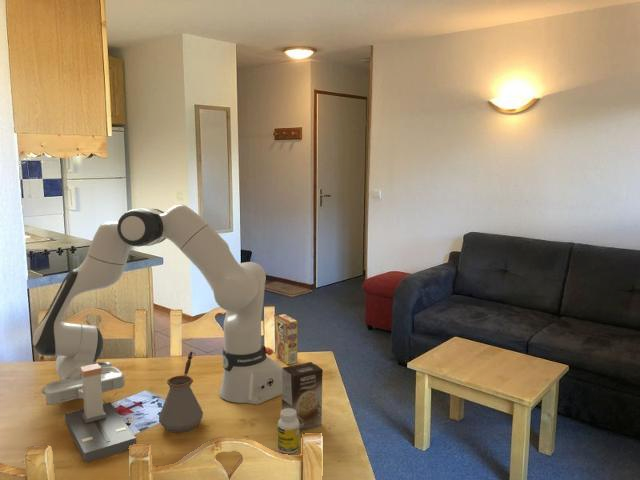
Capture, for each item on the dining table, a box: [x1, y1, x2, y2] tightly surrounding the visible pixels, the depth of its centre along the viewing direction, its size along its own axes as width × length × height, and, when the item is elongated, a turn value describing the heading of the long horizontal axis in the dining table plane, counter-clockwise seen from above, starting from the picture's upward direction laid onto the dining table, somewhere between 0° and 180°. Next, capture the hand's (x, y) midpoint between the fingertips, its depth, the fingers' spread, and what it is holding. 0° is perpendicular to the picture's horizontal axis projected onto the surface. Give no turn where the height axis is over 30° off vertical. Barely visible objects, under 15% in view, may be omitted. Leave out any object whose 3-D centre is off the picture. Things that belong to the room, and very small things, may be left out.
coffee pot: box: [158, 350, 204, 434], centre depth 150 cm, size 21×12×15 cm, turn 1°
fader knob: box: [80, 362, 106, 423], centre depth 144 cm, size 5×4×14 cm
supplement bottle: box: [277, 408, 300, 454], centre depth 135 cm, size 5×5×10 cm
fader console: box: [64, 401, 137, 464], centre depth 142 cm, size 12×23×3 cm, turn 35°
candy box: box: [274, 313, 298, 365], centre depth 190 cm, size 9×4×15 cm, turn 33°
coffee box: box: [281, 361, 324, 432], centre depth 146 cm, size 9×6×16 cm
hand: (91, 396), depth 145 cm, fingers closed, pressing on fader knob
